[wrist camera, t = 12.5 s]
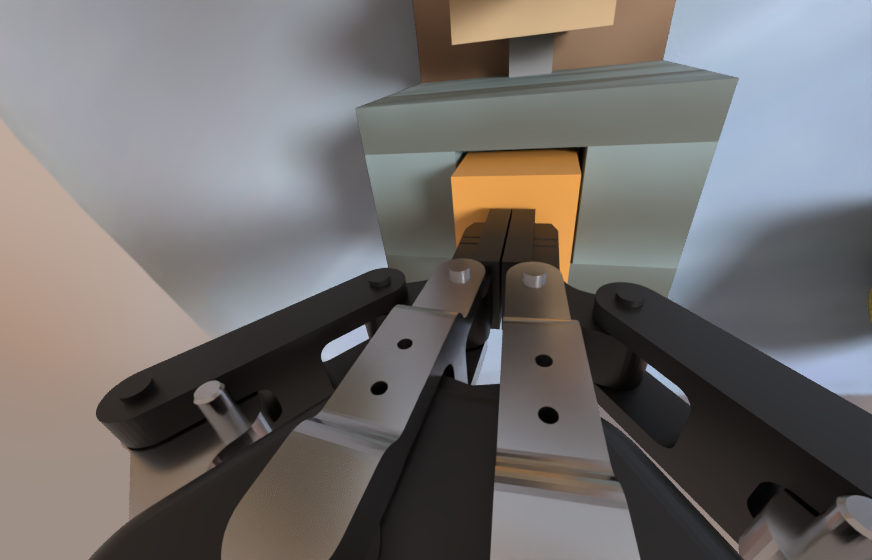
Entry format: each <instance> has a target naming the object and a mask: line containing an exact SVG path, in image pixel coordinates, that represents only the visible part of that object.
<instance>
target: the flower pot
mask: <svg viewBox="0 0 872 560" xmlns="http://www.w3.org/2000/svg"><path fill="white" fill-rule="evenodd" d="M868 309H869V316H870V319H871V322H872V287H871V290H870V293H869V298H868Z"/></svg>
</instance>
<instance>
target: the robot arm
mask: <svg viewBox="0 0 872 560" xmlns="http://www.w3.org/2000/svg"><path fill="white" fill-rule="evenodd" d="M535 213H536V209H513V213H512V209H490V210H489V213H488V216H487V219H486V221H485V222H474V223H473V224H471V225H470V226H468V227H467V228H466V229H465V231H464V233H463V235H462V238H461V240H460V242H459V244H458V246H457V249H456V251H455V253H454V255H453V258H452V260H449V261H446V262H444V263H442V264H440V265H439V266H438V267H437V268H436V269H435V270H434V272H433V274H432V275H431V277H430V278H429V280H424V281H418V282H410V283H406V279H405V275H404V274H403V273H402V272H401V271H399V270H397V269H393V268H380V269H375V270H372V271H369V272H367V273H364V274H362V275H360V276H358V277H355V278H353V279H351V280H348V281H346V282H344V283H342V284H339V285H337V286H335V287H332V288H330V289H328V290H326V291H323V292H321V293H319V294H316V295H314V296H312V297H310V298H307V299H305V300H303V301H300V302H298V303H296V304H293V305H291V306H289V307H287V308H284V309H282V310H280V311H277V312H275V313H273V314H271V315H268V316H266V317H264V318H261V319H259V320H257V321H255V322H252V323H250V324H248V325H245V326H243V327H241V328H239V329H236V330H234V331H232V332H229V333H227V334H225V335H223V336H220V337H218V338H216V339H213V340H211V341H209V342H207V343H205V344H202V345H200V346H197V347H195V348H193V349H191V350H188V351H186V352H184V353H181V354H179V355H177V356H175V357H172V358H170V359H168V360H165V361H163V362H161V363H158V364H156V365H154V366H152V367H149V368H147V369H145V370H143V371H140V372H138V373H136V374H134V375H132V376H130V377H128V378H127V379H125V380H123V381H122V382H120V383H119V384H118V385H116V386H115V387H114V388H113V389H111V390H110V391H109V392H108V393H107V394H106V395H105V396H104V398H103V399H102V400H101V402H100V403H99V405H98V407H97V410H96V416H97V418H98V420H99V421H100V422H101V423H102V424H104V426H106V427H107V428H108V429H109V430H110V431H111V432H112V433H113V434H114V435H115V436H116V437H117V438H118V439H119V440H120V441H121V444H122V446H123V447H124V448H125V449H126V450H127V451H128V452H129V453H130V456H131V457H130V495H129V522H127V523H126V524H125V525H124V526H122V527H121V528H120V529H119V530H118V531H117V532H116V533H114V534H113V535H112V536H111V537H110V538H109V539H108V540H107V541H106V542H105V543H104V544H103V545H102V546H101V547H100V548H99V549H98V550H97V551H96V552H95V553H94V554H93V555H92V556H91V557H90V559H89V560H872V414H870V413H868V412H866V411H865V410H863V409H861V408H859V407H857V406H856V405H854V404H852V403H851V402H849V401H847V400H845V399H844V398H842V397H840V396H838V395H837V394H835V393H833V392H831V391H829V390H828V389H826V388H824V387H822V386H821V385H819V384H817V383H815V382H814V381H812V380H810V379H808V378H807V377H805V376H803V375H801V374H799V373H798V372H796V371H794V370H792V369H791V368H789V367H787V366H785V365H784V364H782V363H780V362H778V361H777V360H775V359H773V358H771V357H770V356H768V355H766V354H764V353H762V352H761V351H759V350H757V349H755V348H754V347H752V346H750V345H748V344H747V343H745V342H743V341H741V340H740V339H738V338H736V337H734V336H733V335H731V334H729V333H727V332H725V331H724V330H722V329H720V328H718V327H717V326H715V325H713V324H711V323H710V322H708V321H706V320H704V319H703V318H701V317H699V316H697V315H696V314H694V313H692V312H690V311H688V310H687V309H685V308H683V307H681V306H680V305H678V304H676V303H674V302H673V301H671V300H669V299H667V298H666V297H664V296H662V295H660V294H658V293H657V292H655V291H653V290H651V289H649V288H647V287H645V286H642V285H638V284H634V283H628V282H614V283H608V284H605V285H603V286H601V287H600V288H599V289H598V290H597V291H596V294H592V293H588V292H585V291H581V290H578V289H576V288H574V287H572V286H570V285H569V284H567V283H566V282H565V281H564V280H563V276H562V273H561V272H560V263H559V235H558V230H557V229H556V228H555V227H554V226H553V225H552V224H549V223H535ZM501 318H502V330H503V336H502V356H501V376H500V384H490V385H476V383H477V380H478V377H479V374H480V371H481V367H482V364H483V361H484V358H485V355H486V351H487V347H488V346H487V339H488V337H489V334H490V329H500V323H501ZM364 324H365V325H366V329H367V333H368V336H369V339H368V340H366V341H364V342H362V343H360V344H358V345H357V346H355V347H353V348H351V349H349V350H347V351H345V352H343V353H342V354H340V355H338V356H336V357H334V358H332V359H330V360H328V361H326V362H322V360H321V353H322V350H323V348H324V347H325V346H326V345H327V344H328V343H329V342H331V341H333V340H335V339H337V338H339V337H341V336H343V335H345V334H347V333H349V332H351V331H352V330H354V329H356V328H358V327H360V326H362V325H364ZM647 364H649V365H651V366H652V367H653V368H654V369H656V370H657V371H658V372H660V373H661V374H662V375H664V376H665V377H666V378H668V379H669V380H670V381H671V382H673V383H674V384H675V385H677V386H678V387H679V388H680V389H681V390H682V391H683V392H684V393H685V395H686V396H687V398H688V400H689V402H690V405H691V406H689V404H687V403H686V402H685V401H684V400H682V399H681V398H680V397H678V396H677V395H676V394H675V393H673V392H672V391H671V390H670V389H668V388H667V387H666V386H665V385H663V384H662V383H661V382H659V381H658V380H657V379H656V378H654V377H653V376H652V375H651V374H649V373H648V372H647V371H646V367H647ZM597 403H598V404H599V405H600V406H601V407H602V408H603V409H604V410H605V411H606V412H607V413H608V414H609V415H610V416H611V417H612V418H613V419H614V420H615V421H616V422H617V423H618V424H619V425H620V426H621V427H622V428H623V429H624V430H625V431H626V432H627V433H628V434H629V435H630V436H631V437H632V438H633V439H634V440H635V441H636V442H637V443H638V444H639V445H640V446H641V447H642V448H643V449H644V450H645V451H646V452H647V453H648V454H649V455H650V456H651V457H652V458H653V459H654V460H655V461H656V462H657V463H658V464H659V465H660V466H661V467H662V468H663V469H664V470H665V471H666V472H667V473H668V474H669V475H670V476H671V477H672V478H673V479H674V480H675V481H676V482H677V483H678V484H679V485H680V486H681V487H682V488H683V489H684V490H685V491H686V492H687V493H688V494H689V495H690V496H691V497H692V498H693V499H694V500H695V501H696V502H697V503H698V504H699V505H700V506H701V507H702V508H703V509H704V510H705V511H706V512H707V513H708V514H709V515H710V516H711V517H712V518H713V519H714V520H715V521H716V522H717V523H718V524H719V525H720V526H721V527H722V528H723V529H724V530H725V531H726V532H727V533H728V534H729V535H730V536H731V537H732V538H733V539H734V540H735V541H736V542H737V543H738V544H739V554H740V555H739V554H738V553H737V551H736V550H735V549H734V548H733V547H732V546H731V545H730V544H729V543H728V542H727V541H726V540H725V539H724V538H723V537H722V536H721V535H720V533H719V532H718V531H717V530H716V529H715V528H714V527H713V526H712V525H711V524H710V523H709V522H708V521H707V520H706V518H705V517H704V516H703V515H702V514H701V513H700V512H699V511H698V510H697V509H696V508H695V507H694V506H693V505H692V504H691V503H690V501H689V500H688V499H687V498H686V497H685V496H684V495H683V494H682V493H681V492H680V491H679V490H678V489H677V488H676V487H675V485H674V484H673V483H672V482H671V481H670V480H669V479H668V478H667V477H666V476H665V475H664V474H663V473H662V472H661V471H660V470H659V468H658V467H656V465H655V464H654V463H653V462H652V461H651V460H650V459H649V458H648V457H647V456H646V455H645V454H644V453H643V451H642V450H641V449H640V448H639V447H638V446H637V445H636V444H635V443H634V442H633V441H632V440H631V439H630V438H628V437H627V436H626V435H625V434H624V433H623V432H622V431H620V430H619V429H618V428H616V427H615V426H613V425H612V424H611V423H609V422H608V421H606V420H604V419H603V418H601V417H600V413H599V410H598V404H597Z"/></svg>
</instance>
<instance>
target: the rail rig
mask: <svg viewBox="0 0 872 560" xmlns="http://www.w3.org/2000/svg"><path fill="white" fill-rule="evenodd" d="M675 2H676V0H617V1H616V8H615V15H614V22H613V25H610V26H603V27H595V28H587V29H579V30H571V31H563V32H555V33H547V34H538V35H530V36H522V37H514V38H506V39H499V40H490V41H482V42H474V43H466V44H457V45H452V37H451V22H450V6H449V0H413V7H414V17H415V26H416V35H417V44H418V53H419V62H420V72H421V81H422V83H421V84H418V85H416V86H413V87H410V88H408V89H405V90H403V91H400V92H397V93H395V94H392V95H389V96H387V97H384V98H381V99H379V100H376V101H373V102H371V103H368V104H365V105H363V106H360V107H358V108H355V111H356V116H357V120H358V125H359V130H360V135H361V140H362V144H363V149H364V154H365V159H366V163H367V168H368V173H369V178H370V183H371V187H372V192H373V197H374V202H375V207H376V211H377V216H378V221H379V226H380V231H381V235H382V240H383V245H384V250H385V255H386V259H387V264H388V268H393V269H397V270H399V271H401V272H402V273H403V274H404V275H405V279H406V283H410V282H418V281H424V280H429V278H430V277H431V275H432V274H433V272H434V270H435V269H436V268H437V267H438V266H439V265H440V264H442V263H444V262H446V261H449V260H452V258H453V255H454V253H455V251H456V249H457V248H456V235H455V222H454V210H453V197H452V185H451V176H452V174H453V173H454V172H455V170H456V169H457V167H458V166H459V165H460V163H461V162H462V160H463V159H464V158H465V156H466V155H467V153H468V152H493V151H520V150H547V149H574V148H576V151H577V156H578V161H579V166H580V170H581V181H580V189H579V197H578V205H577V213H576V221H575V228H574V236H573V244H572V252H571V260H570V268H569V276H568V284H569V285H570V286H572V287H574V288H576V289H578V290H581V291H585V292H588V293H592V294H596V291H597V290H598V289H599V288H600V287H601V286H603V285H605V284H608V283H614V282H628V283H634V284H638V285H642V286H645V287H647V288H649V289H651V290H653V291H655V292H657V293H658V294H660V295H662V296H664V297H666V298H667V297H668V294H669V291H670V288H671V285H672V282H673V279H674V276H675V272H676V269H677V266H678V263H679V260H680V257H681V254H682V251H683V248H684V245H685V242H686V239H687V236H688V233H689V229H690V226H691V223H692V220H693V217H694V214H695V211H696V208H697V205H698V202H699V199H700V196H701V193H702V190H703V187H704V183H705V180H706V177H707V174H708V171H709V168H710V165H711V162H712V159H713V156H714V153H715V150H716V147H717V144H718V140H719V137H720V134H721V131H722V128H723V125H724V122H725V119H726V116H727V113H728V110H729V107H730V104H731V101H732V97H733V94H734V91H735V88H736V85H737V82H738V79H739V78H737V77H732V76H728V75H724V74H720V73H715V72H711V71H707V70H703V69H698V68H694V67H690V66H686V65H681V64H677V63H673V62H669V61H664V60H663V57H664V53H665V48H666V44H667V39H668V34H669V30H670V25H671V20H672V16H673V11H674V7H675Z"/></svg>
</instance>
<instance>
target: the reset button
mask: <svg viewBox="0 0 872 560" xmlns="http://www.w3.org/2000/svg"><path fill="white" fill-rule="evenodd" d="M580 181H581V170H580V166H579V161H578V156H577V151H576V148H574V149H547V150H520V151H493V152H468V153H467V155H466V156H465V158H464V159H463V160H462V162H461V163H460V165H459V166H458V167H457V169H456V170H455V172H454V173H453V174H452V176H451V185H452V197H453V210H454V222H455V235H456V248H457V246H458V244H459V242H460V240H461V238H462V235H463V233H464V231H465V229H466V228H467V227H468V226H470V225H471V224H473V223H474V222H485V221H486V219H487V216H488V213H489V210H490V209H512V213H513V209H536V213H535V223H549V224H552V225H553V226H554V227H555V228H556V229H557V230H558V235H559V263H560V272H561V273H562V276H563V280H564V281H565V282H566V283H567V284H568V276H569V268H570V260H571V252H572V244H573V236H574V228H575V221H576V213H577V205H578V197H579V189H580Z"/></svg>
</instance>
